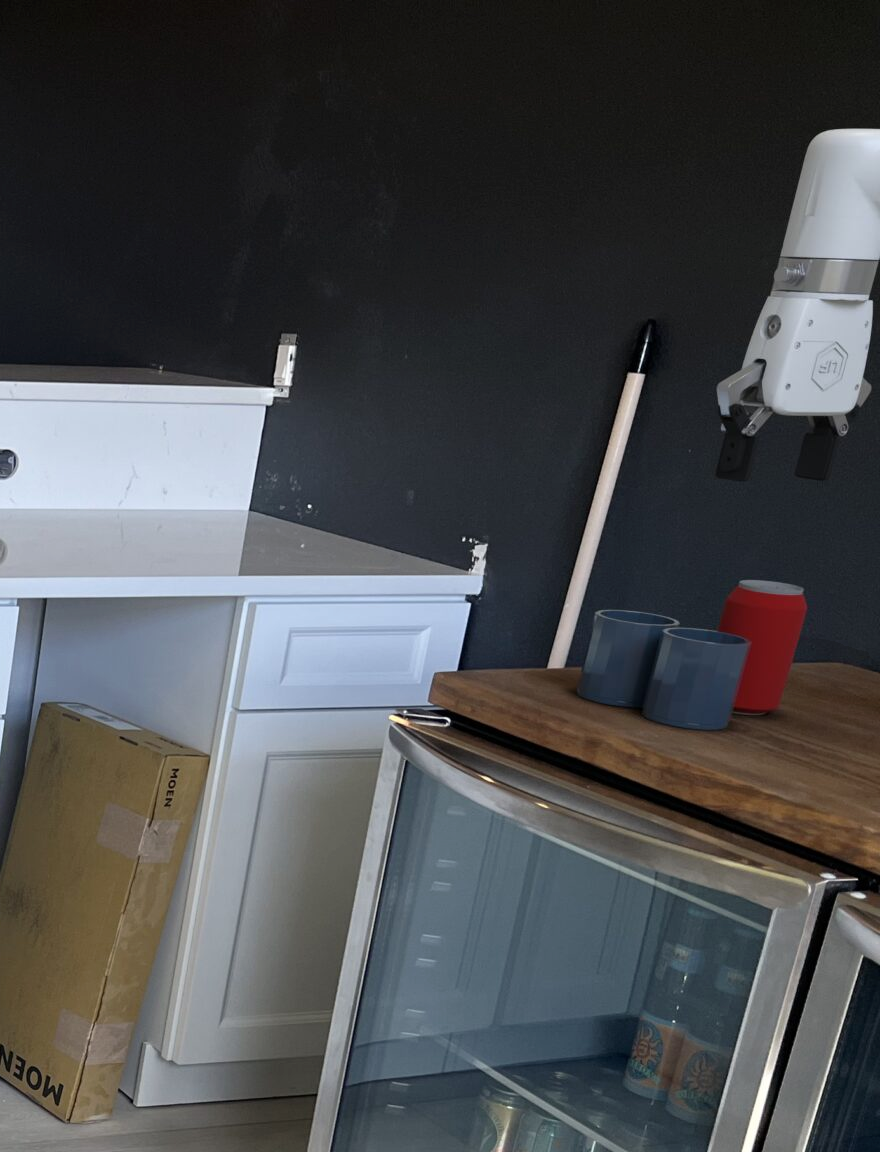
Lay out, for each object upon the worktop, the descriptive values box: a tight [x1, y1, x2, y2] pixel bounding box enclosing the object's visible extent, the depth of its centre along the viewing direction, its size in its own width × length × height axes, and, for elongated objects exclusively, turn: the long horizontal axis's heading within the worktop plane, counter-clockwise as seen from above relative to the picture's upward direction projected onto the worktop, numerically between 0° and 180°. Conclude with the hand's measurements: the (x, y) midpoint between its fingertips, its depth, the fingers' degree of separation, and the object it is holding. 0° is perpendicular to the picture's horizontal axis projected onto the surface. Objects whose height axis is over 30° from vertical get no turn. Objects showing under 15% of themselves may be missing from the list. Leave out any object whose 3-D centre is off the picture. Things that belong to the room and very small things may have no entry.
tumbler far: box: [576, 609, 681, 709], centre depth 182 cm, size 7×7×8 cm
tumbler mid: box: [641, 627, 752, 731], centre depth 175 cm, size 7×7×8 cm
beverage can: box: [717, 579, 808, 716], centre depth 180 cm, size 7×7×12 cm
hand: (771, 479), depth 172 cm, fingers open, 9 cm apart
